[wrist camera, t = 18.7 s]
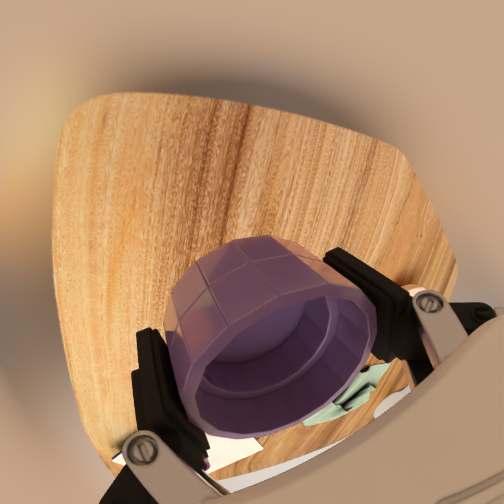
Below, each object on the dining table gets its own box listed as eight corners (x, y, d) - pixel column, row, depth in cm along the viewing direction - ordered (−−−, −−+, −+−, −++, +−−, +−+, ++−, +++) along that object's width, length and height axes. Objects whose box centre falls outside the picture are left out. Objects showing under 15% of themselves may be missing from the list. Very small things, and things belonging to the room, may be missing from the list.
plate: (264, 436, 42) (270, 447, 40) (179, 475, 40) (182, 486, 37) (203, 396, 31) (208, 412, 29) (101, 446, 29) (102, 460, 27)
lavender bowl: (149, 363, 10) (164, 443, 7) (191, 209, 9) (227, 261, 5) (279, 367, 13) (318, 425, 10) (337, 252, 12) (405, 297, 8)
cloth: (284, 414, 41) (291, 424, 39) (383, 333, 42) (392, 341, 40) (320, 433, 52) (325, 440, 50) (394, 373, 53) (400, 379, 51)
